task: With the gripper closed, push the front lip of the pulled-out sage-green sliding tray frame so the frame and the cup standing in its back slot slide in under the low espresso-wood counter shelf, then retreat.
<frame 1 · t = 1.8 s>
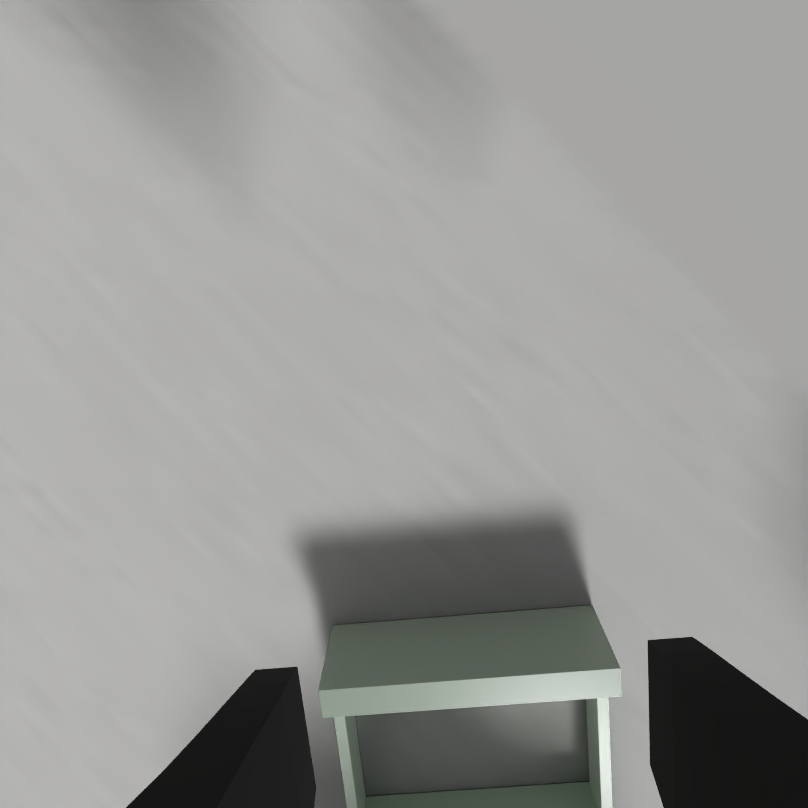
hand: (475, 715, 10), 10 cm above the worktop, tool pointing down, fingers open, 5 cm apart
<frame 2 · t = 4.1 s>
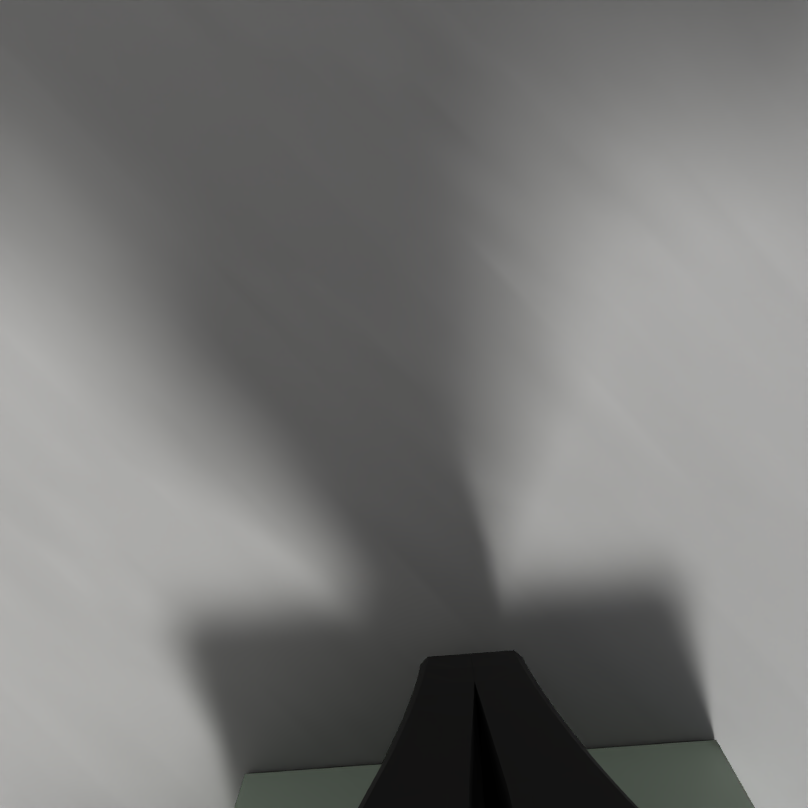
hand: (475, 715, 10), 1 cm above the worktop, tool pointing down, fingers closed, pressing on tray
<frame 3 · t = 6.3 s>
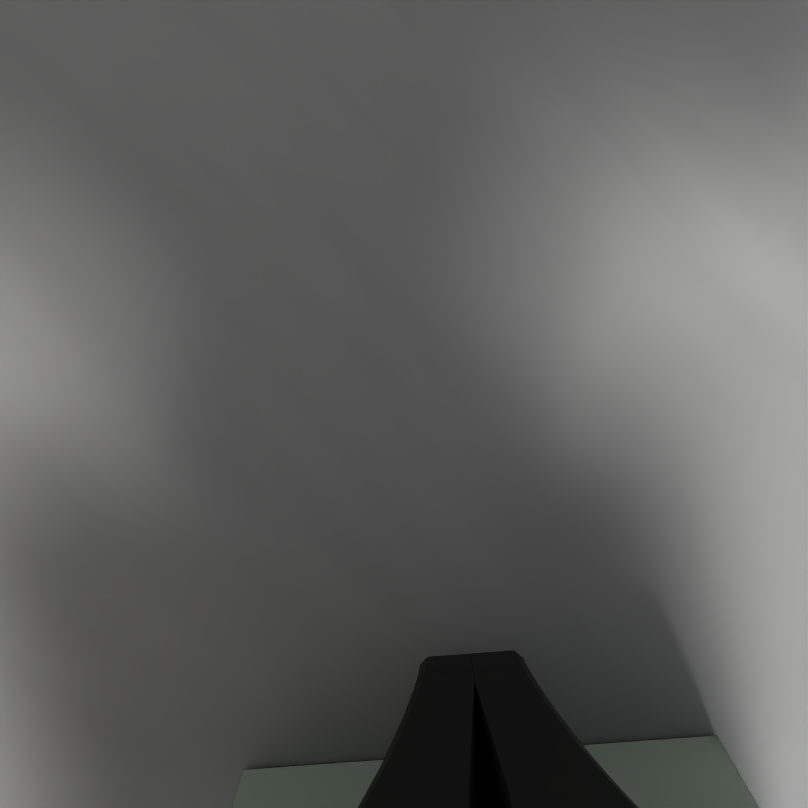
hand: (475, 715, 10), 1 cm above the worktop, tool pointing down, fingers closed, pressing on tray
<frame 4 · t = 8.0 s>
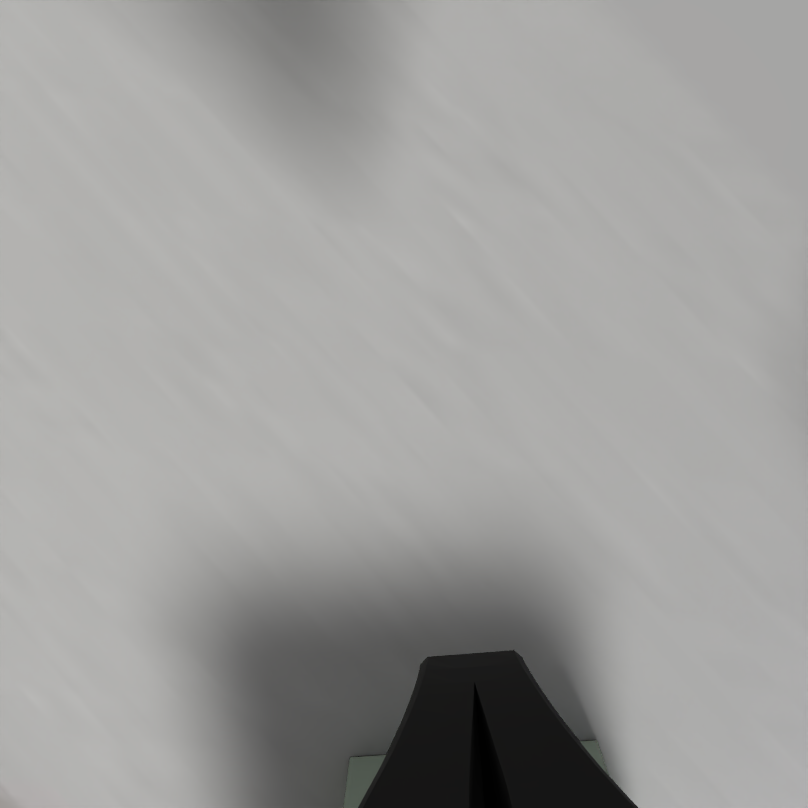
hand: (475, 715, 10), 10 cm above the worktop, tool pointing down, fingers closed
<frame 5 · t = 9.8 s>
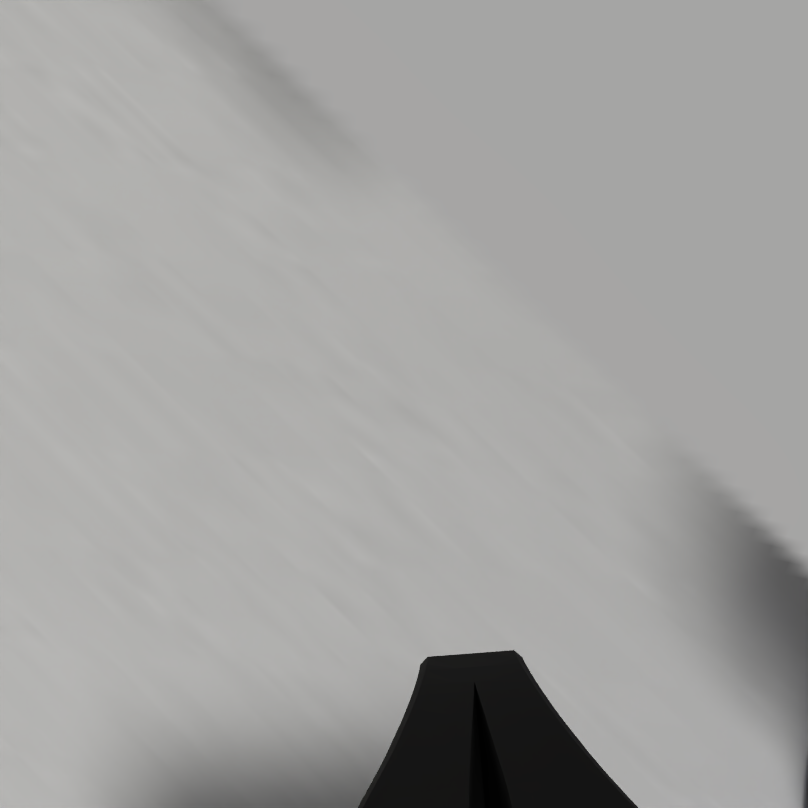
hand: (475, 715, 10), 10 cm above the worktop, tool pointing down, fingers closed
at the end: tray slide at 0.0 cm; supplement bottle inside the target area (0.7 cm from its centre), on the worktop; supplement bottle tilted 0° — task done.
